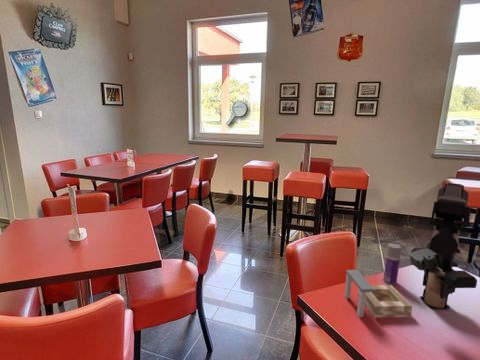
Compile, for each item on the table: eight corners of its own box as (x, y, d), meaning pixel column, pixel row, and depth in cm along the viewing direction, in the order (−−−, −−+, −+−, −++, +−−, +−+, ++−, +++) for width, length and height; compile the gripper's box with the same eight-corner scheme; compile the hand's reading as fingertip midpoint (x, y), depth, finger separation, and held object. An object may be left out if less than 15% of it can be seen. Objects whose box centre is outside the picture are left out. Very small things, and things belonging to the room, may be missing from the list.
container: (398, 285, 111) (403, 249, 108) (384, 284, 112) (389, 247, 109) (394, 279, 116) (399, 243, 113) (381, 277, 116) (386, 242, 114)
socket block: (390, 295, 105) (391, 285, 104) (410, 317, 93) (412, 305, 92) (357, 295, 104) (358, 285, 103) (374, 317, 92) (375, 306, 92)
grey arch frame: (354, 295, 104) (357, 269, 102) (371, 317, 92) (374, 289, 90) (343, 295, 104) (346, 270, 102) (358, 317, 92) (362, 289, 90)
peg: (436, 297, 88) (441, 269, 86) (448, 307, 83) (454, 278, 81) (420, 297, 88) (424, 270, 86) (432, 307, 83) (436, 278, 81)
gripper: (397, 230, 90) (391, 276, 93) (441, 258, 72) (431, 314, 75) (431, 230, 91) (424, 276, 94) (483, 258, 73) (472, 313, 76)
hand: (435, 293), depth 85 cm, fingers closed on peg, 5 cm apart
